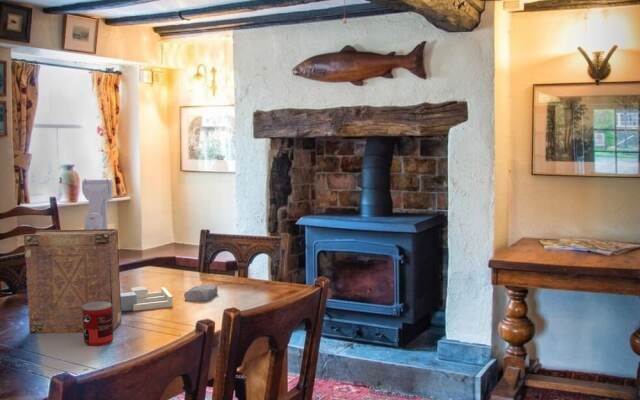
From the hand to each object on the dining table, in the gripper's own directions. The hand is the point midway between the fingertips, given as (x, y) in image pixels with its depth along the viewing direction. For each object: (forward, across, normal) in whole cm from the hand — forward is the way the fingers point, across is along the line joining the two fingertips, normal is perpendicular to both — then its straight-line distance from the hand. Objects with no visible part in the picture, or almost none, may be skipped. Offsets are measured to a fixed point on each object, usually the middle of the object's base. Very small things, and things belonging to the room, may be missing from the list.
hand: (95, 307), depth 222 cm
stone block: (+2, +37, +5) cm, 37 cm away
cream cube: (+2, +16, +7) cm, 17 cm away
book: (+2, -7, -17) cm, 18 cm away
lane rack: (+2, +18, +4) cm, 18 cm away
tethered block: (+2, +6, 0) cm, 6 cm away
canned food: (+2, -2, -35) cm, 35 cm away
